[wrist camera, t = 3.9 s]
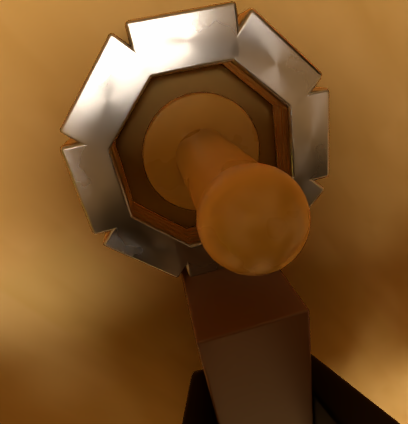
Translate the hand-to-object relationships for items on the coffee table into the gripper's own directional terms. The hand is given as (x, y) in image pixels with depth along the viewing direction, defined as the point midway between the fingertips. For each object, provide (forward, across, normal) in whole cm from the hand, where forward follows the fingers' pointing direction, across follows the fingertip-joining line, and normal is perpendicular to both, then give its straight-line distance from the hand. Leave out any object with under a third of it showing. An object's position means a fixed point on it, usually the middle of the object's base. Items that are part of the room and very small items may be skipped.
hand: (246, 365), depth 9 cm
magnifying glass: (+1, 0, -2) cm, 2 cm away
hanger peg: (+1, 0, -6) cm, 6 cm away
